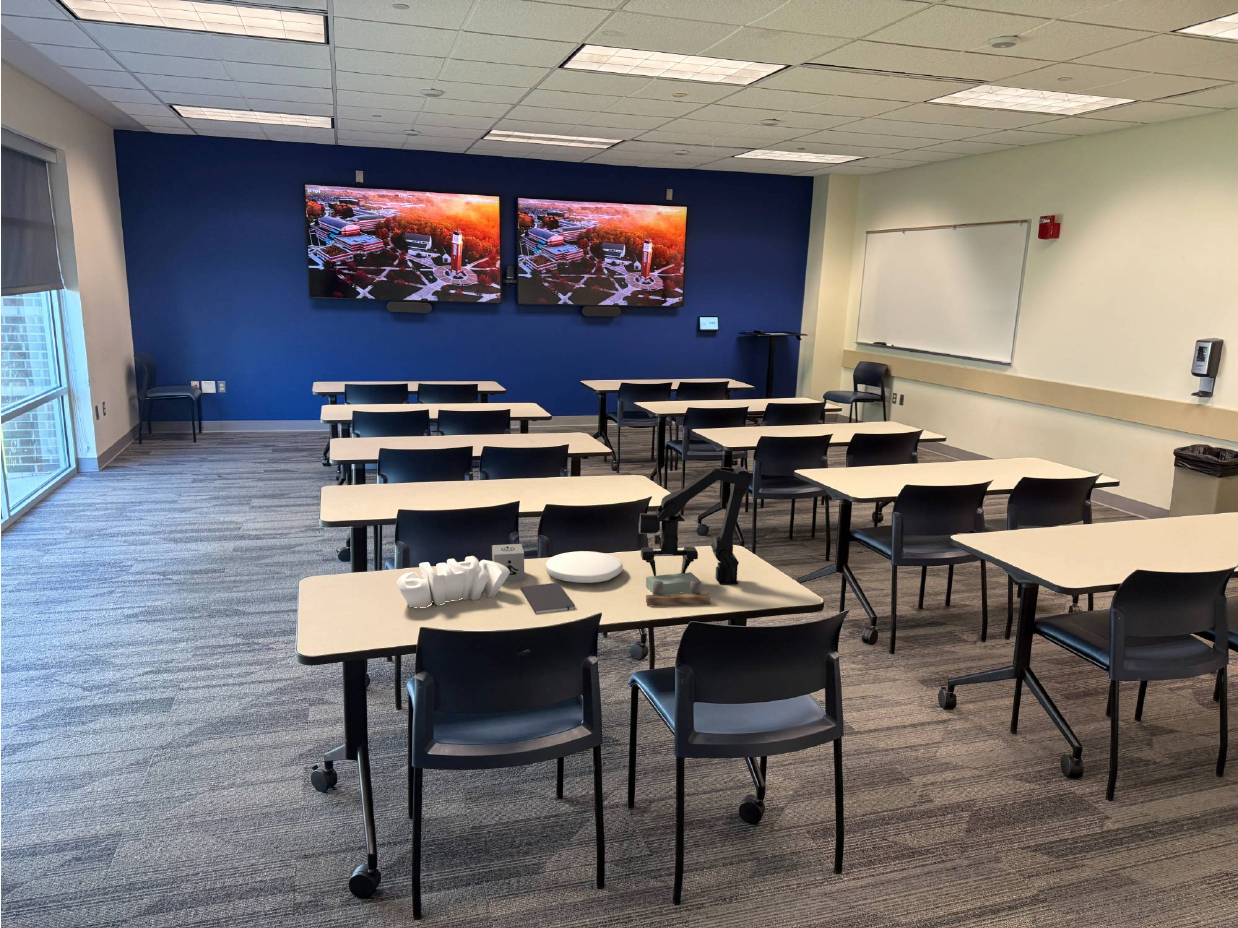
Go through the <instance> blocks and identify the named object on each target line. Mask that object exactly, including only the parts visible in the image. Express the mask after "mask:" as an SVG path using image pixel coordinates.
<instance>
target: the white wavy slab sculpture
mask: <svg viewBox="0 0 1238 928" xmlns="http://www.w3.org/2000/svg"><path fill="white" fill-rule="evenodd" d="M435 566H436V568H435V569H436V571H435V570H434V569H433V567H432V566H431V564H430V562H428V561H426V562H420V563H419V564H418V567H419V571H420V575H421V576H419V574H418V572H416V571H411V572H406V573H403V574H402V575H401V576H400V577H399V578H397V580H396V582H395V583H396V587H397V589H398V590H399V592H400V594H401V595H402V597H403V599H404V600H405V601H406V603H407V605H408V606H409V607H410V606H411V607H417V608H420V607H427V606H428V605H430V604H431V603H432V601H433V602H434V603H435V604H436V605H440V604H443V603H445V601H451V600H459V599H461V598H463V599H466V600H467V598H468V597H470V598H471V599H472V600H471V599H470V598H468V599H470V600H471V601H477V600H476V599H478V600H480V598H481V596H482V593H484V594H485V596H486V597H487V598H488V599H489V598H495V597H496V595H497V594H498V592H499V591H500V589H501V588H502V586H503V585H504V583H505V582H504V581H505V580H506V578H507V577H508V575H509V574H510V571H509V569H508V568H507V567H505V566H504V565H502V564H499V563H496V562H493V561H492V560H488V559H487V560H486V559H482V560H480V561H479V559H478V558H477V557H476V556H474V555H471V556H466V557H465V558H464V561H457V560H456V559H455V558H448V559H447V560H446V562H438V563H437V564H436V565H435ZM420 577H421V578H420ZM459 601H460V600H459ZM434 603H433V604H434ZM435 604H434V605H435ZM445 604H446V603H445ZM436 605H435V606H436ZM411 607H410V608H411Z"/></svg>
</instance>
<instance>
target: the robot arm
mask: <svg viewBox="0 0 1238 928" xmlns="http://www.w3.org/2000/svg"><path fill="white" fill-rule="evenodd" d="M718 481H719V482H725V483H730V486H729V489H730V494H729V498H728V501H727V505H726V510H725V514H724V518H723V520H722V521H723V522H722V525H721V529H720V533H719V534H718V535H713V538H712V544H710V547H711V550H712V553H713V555H714V557H715V559H716V561H717V566H716V567H715V579H716V581H717V583H718V584H719V585H738V584H739V581H738V569H739V567H738V566H739V564H740V562H739V560H738V559H737V557H736V555H735V554H734V533H735V529H736V526H737V522H738V517H739V514H740V511H741V510H740V509H741V507H742V504H743V503H742V502H743V499H744V496H745V495H746V494H747V492H748V490H749V488H750V486H751V483H752V481H753V476H752V474H751V473H750V472H749V471H748V470H747V469H746V468H745V467H743V466H737V467H735V468H733V467H728V466H727V467H726V466H725V467H724V466H723V467H722V466H721V467H720V466H715V465H714V466H711V468H709V470H708V471H706V472H705V473H703V474H702V475H701V476H699V477H697V478H696V479H695V480H693V481H692V482H691V483H689V484H687V485H686V486H684V487H683V488H681V489H679V490H676V491H672V492H670V493H669V494H666V495H664V497H662V498H661V503H660V505H659V506H658V507H657V509H656V510H655V511H654V513H645V512H640V513H639V521H638V533H639V534H640V535H644V534H646V535H647V534H650V535H653V545H659V546H658V547H659V550H658V549H657V550H655V549H654V548H653V546H652V547H650V546H647V547H644V546H643V547H641V549H640V557H641V559H642V561H645V562H646V563H648V564H649V565H650V567H651V572H652V574H653V575H652V576H657V569H656V568H657V567H656V559H655V557H680V556H681V557H682V563H681V570H680V573H687V572H686V571H687V569H688V568H689V566H690V564H691V563H693V562H694V561H695V560H698V559H699V553H698V550H697V548H696V547H695V546H684V547H683V549H679V547H678V546H679V524H680V523H679V522H685V520H686V519H685V518H684V516H683V515H682V514H681V511H682V510H683V509H684V508H685V506H686V505H687V503H689V501H690V500H691V499H692V500H693V498H695V497H696V496H697V495H699V494H701V493H702V492H703V491H706V489H708V488H709V487H710V486H712V485H714V484H715V483H716V482H718ZM660 531H661V532H660ZM659 532H660V534H658V535H657V533H659Z"/></svg>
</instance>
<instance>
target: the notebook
mask: <svg viewBox="0 0 1238 928" xmlns="http://www.w3.org/2000/svg"><path fill="white" fill-rule="evenodd" d="M520 591H521V593H522V595H523V597H525V599H526V601H527V602H528V603H529V606H530V607H531V609H532V611H533V612H534V614H535V615H537V614H545V613H552V612H553V613H554V612H563V611H570V610H574V609H575V607H576V605H575V603H574V602H573V600H572V599H571V598H570V596H569V595H568V594H567V593H566V591H565V589H564V588H563V587H562V586H561V584H560V583H559V582H550V583H541V584H532V585H525V586H520Z"/></svg>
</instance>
